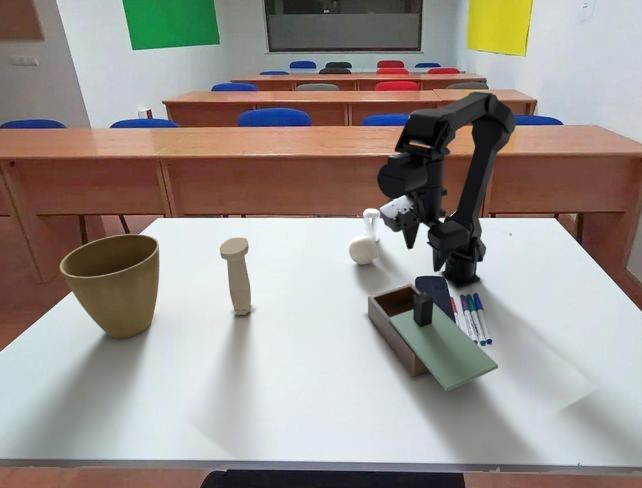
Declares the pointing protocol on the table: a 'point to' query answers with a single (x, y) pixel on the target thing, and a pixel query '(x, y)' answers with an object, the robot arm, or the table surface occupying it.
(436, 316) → the sliding door
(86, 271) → the plant pot
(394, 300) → the brown wooden box
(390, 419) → the table surface
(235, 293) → the handle
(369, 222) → the milkshake
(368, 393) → the table surface
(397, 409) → the table surface
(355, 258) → the cream round ball
